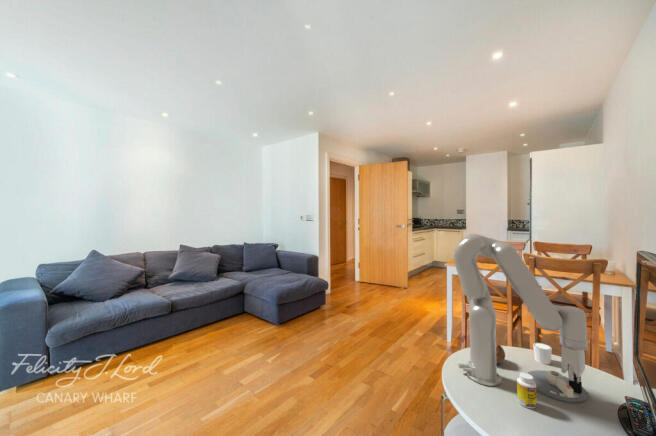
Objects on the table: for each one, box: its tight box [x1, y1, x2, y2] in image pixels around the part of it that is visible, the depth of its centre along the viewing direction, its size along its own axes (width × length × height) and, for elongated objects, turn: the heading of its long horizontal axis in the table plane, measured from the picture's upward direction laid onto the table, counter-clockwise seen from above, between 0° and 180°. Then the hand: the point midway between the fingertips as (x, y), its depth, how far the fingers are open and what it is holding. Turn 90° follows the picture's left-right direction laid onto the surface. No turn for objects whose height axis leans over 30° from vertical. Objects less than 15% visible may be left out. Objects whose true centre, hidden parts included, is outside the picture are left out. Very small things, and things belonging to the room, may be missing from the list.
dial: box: [527, 369, 588, 404], centre depth 103 cm, size 18×18×2 cm
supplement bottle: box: [516, 372, 537, 409], centre depth 95 cm, size 6×6×10 cm
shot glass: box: [532, 342, 553, 365], centre depth 121 cm, size 7×7×7 cm
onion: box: [496, 342, 506, 364], centre depth 122 cm, size 10×9×10 cm
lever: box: [547, 370, 573, 398], centre depth 100 cm, size 11×5×4 cm, turn 168°
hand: (575, 391), depth 96 cm, fingers closed
